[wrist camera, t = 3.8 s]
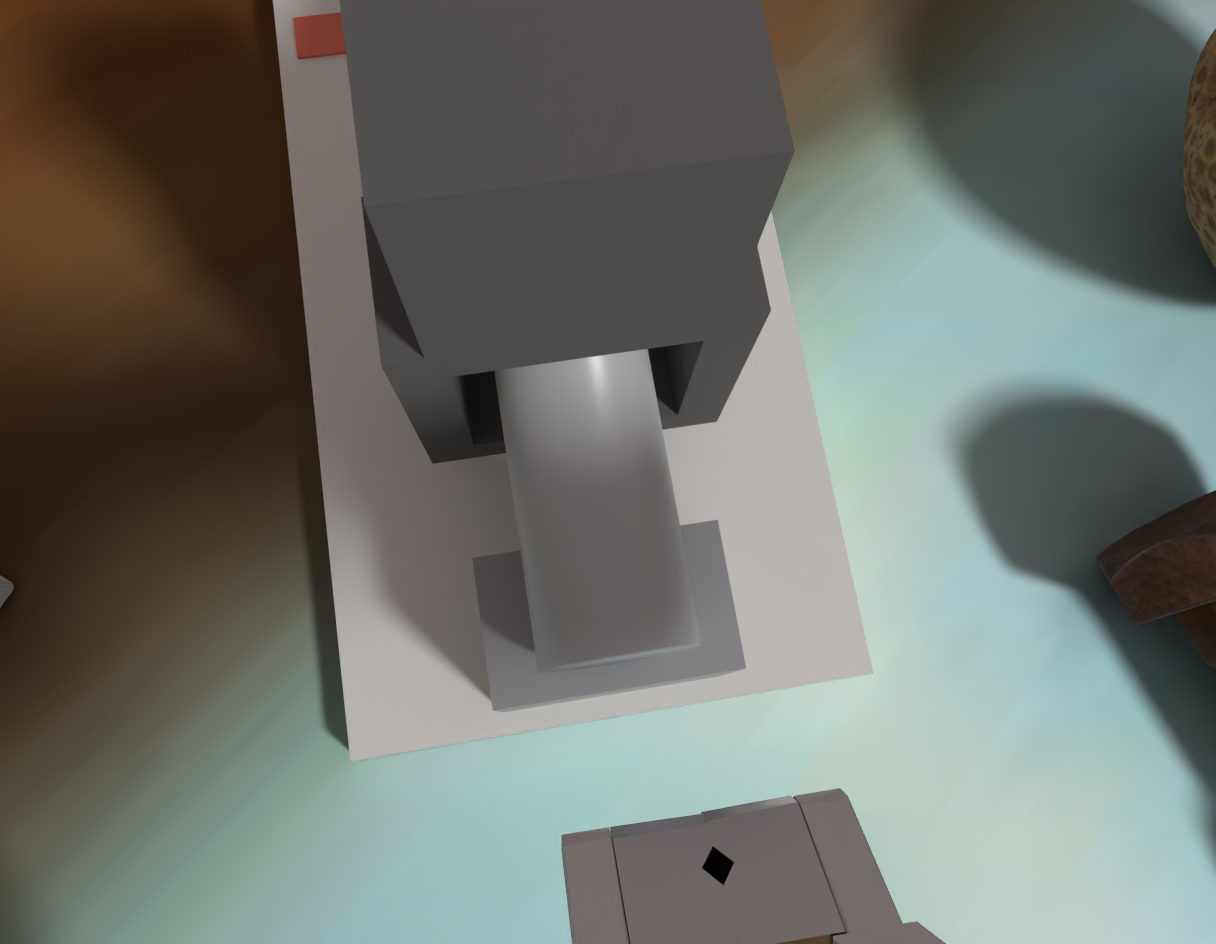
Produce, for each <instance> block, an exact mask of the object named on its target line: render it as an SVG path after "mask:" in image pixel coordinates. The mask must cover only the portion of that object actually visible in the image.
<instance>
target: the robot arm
mask: <svg viewBox="0 0 1216 944" xmlns="http://www.w3.org/2000/svg"><path fill="white" fill-rule="evenodd" d="M610 831H611V834H610ZM562 858H563V867H564V876H565V885H566V893H567V902H568V911H569V920H570V928H571V937H572V944H946V943H944V942H943V941H942V940H940V939H939V938H938V937H936V936H935V935H934V934H933V933H931V932H930V931H929V930H927V929H926V928H925V927H923V926H922V925H921V924H920V923H918V922H909V923H902V921H901V919H900V916H899V914H898V912H897V909H896V907H895V905H894V902H893V900H892V898H891V895H890V893H889V891H888V889H887V886H886V884H885V882H884V879H883V877H882V875H881V872H880V870H879V868H878V865H877V863H876V861H875V858H874V856H873V854H872V851H871V849H870V847H869V844H868V842H867V840H866V837H865V835H864V833H863V831H862V828H861V826H860V824H859V821H858V819H857V817H856V814H855V812H854V810H853V807H852V805H851V803H850V800H849V798H848V796H847V795H846V794H845V793H844V792H843V791H842V790H841V789H840V788H839V789H832V790H827V791H821V792H815V793H809V794H804V795H798V796H794V797H792V796H786V797H780V798H775V799H770V800H764V801H759V802H753V803H748V804H743V805H737V806H732V807H726V808H721V809H716V810H710V811H705V812H701V814H698V815H691V816H684V817H677V818H670V819H663V820H656V821H649V822H642V823H635V824H628V825H621V826H614V827H610V830H609V827H608V828H602V829H596V830H590V831H583V832H577V833H571V834H564V835H562Z"/></svg>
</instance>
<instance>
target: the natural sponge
mask: <svg viewBox="0 0 1216 944" xmlns="http://www.w3.org/2000/svg"><path fill="white" fill-rule="evenodd" d="M1182 175H1183V189H1184V196H1185V203H1186V208H1187V212H1188V216H1189V218H1190V220H1191V222H1192V224H1193V226H1194V229H1195V231H1196V233H1197V235H1198V237H1199V239H1200V241H1201V243H1202V245H1203V247H1204V248H1205V250H1206V252H1207V254H1208V256H1209V258H1210V260H1211V262H1212V263H1213V265H1214V267H1215V269H1216V29H1215V30H1214V32H1213V33H1212V35H1211V36H1210V38H1209V40H1208V41H1207V43H1206V45H1205V47H1204V49H1203V51H1202V53H1201V55H1200V58H1199V60H1198V63H1197V66H1196V69H1195V71H1194V74H1193V77H1192V80H1191V84H1190V90H1189V97H1188V105H1187V113H1186V122H1185V132H1184V147H1183V172H1182Z"/></svg>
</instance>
